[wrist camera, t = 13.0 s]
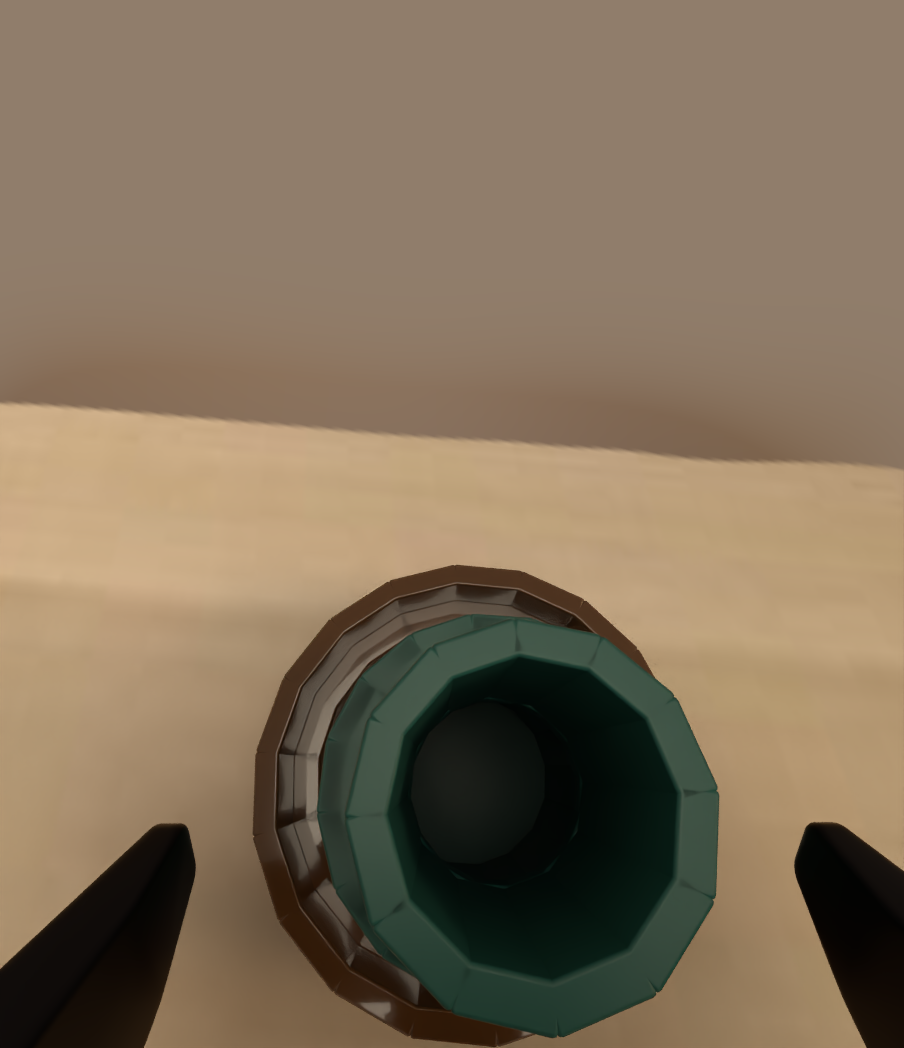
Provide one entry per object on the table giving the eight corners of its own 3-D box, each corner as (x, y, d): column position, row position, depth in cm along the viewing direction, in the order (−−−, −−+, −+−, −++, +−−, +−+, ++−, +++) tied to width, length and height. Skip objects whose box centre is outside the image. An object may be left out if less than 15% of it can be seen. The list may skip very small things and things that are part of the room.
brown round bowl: (645, 1000, 17) (707, 1071, 13) (255, 959, 17) (202, 1017, 13) (637, 618, 21) (683, 585, 17) (322, 588, 21) (295, 548, 17)
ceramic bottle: (581, 836, 18) (957, 1029, 5) (409, 904, 17) (318, 1338, 4) (517, 662, 20) (668, 472, 7) (358, 717, 19) (189, 619, 6)
